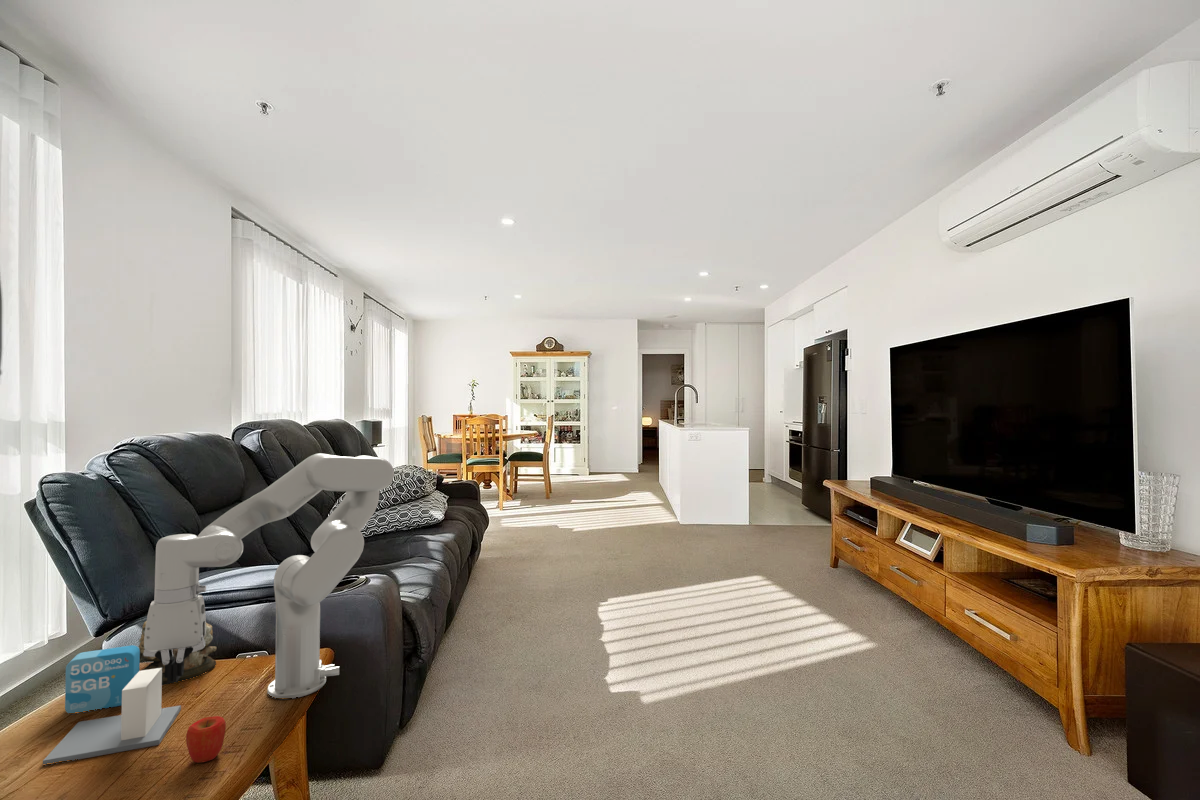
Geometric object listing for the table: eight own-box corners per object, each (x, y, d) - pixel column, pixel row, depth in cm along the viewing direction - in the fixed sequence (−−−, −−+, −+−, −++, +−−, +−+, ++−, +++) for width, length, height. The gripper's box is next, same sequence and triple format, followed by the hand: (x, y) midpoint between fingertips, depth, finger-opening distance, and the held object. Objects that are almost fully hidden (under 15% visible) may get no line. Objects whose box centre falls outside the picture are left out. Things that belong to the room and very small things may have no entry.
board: (180, 709, 126) (180, 705, 126) (159, 744, 113) (159, 739, 113) (78, 726, 119) (78, 721, 119) (42, 765, 106) (42, 760, 106)
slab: (161, 713, 122) (162, 667, 122) (145, 736, 114) (146, 686, 114) (138, 717, 121) (139, 670, 121) (121, 740, 112) (121, 690, 113)
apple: (189, 774, 104) (190, 733, 104) (182, 759, 108) (183, 720, 108) (229, 758, 108) (229, 720, 108) (220, 745, 113) (221, 708, 113)
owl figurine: (124, 694, 132) (124, 622, 133) (131, 674, 142) (131, 607, 143) (216, 674, 142) (216, 606, 143) (217, 657, 152) (217, 594, 153)
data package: (64, 716, 123) (65, 661, 123) (72, 706, 127) (73, 653, 127) (133, 703, 128) (134, 651, 128) (139, 694, 132) (140, 643, 132)
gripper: (222, 584, 126) (219, 666, 126) (140, 592, 120) (137, 678, 120) (213, 595, 119) (211, 682, 119) (126, 603, 113) (123, 694, 113)
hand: (174, 679), depth 119 cm, fingers closed
